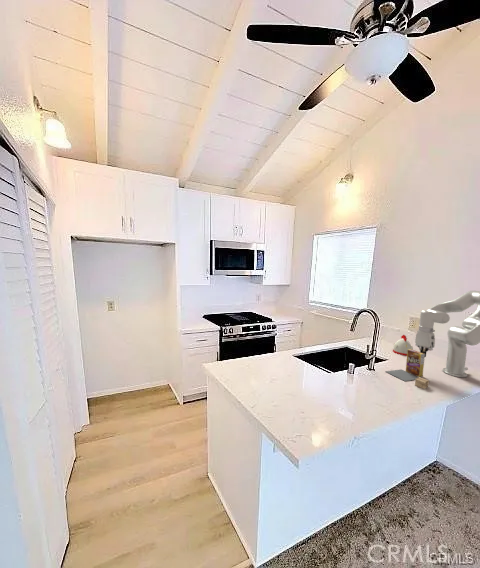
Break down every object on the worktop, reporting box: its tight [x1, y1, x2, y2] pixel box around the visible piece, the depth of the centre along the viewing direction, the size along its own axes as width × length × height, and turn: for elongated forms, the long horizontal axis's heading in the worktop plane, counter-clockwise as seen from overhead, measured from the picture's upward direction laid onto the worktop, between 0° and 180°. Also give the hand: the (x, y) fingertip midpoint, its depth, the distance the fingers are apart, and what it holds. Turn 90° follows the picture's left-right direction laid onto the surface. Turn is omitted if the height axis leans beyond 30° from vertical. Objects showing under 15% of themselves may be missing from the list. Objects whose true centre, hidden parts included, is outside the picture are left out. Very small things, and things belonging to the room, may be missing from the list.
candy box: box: [405, 349, 426, 378], centre depth 167 cm, size 9×4×15 cm, turn 23°
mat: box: [385, 368, 419, 382], centre depth 165 cm, size 14×14×1 cm
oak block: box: [414, 377, 430, 390], centre depth 150 cm, size 5×5×4 cm
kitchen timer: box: [392, 334, 414, 357], centre depth 209 cm, size 14×14×15 cm
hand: (422, 356), depth 169 cm, fingers closed
